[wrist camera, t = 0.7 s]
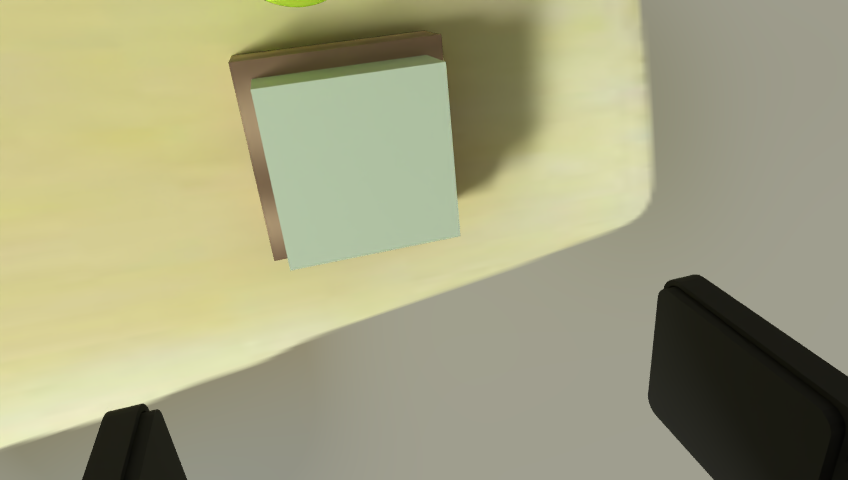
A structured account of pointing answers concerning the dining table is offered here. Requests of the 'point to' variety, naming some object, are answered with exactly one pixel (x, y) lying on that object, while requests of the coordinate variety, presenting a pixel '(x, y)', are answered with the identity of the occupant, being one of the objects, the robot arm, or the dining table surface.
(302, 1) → the soap dispenser
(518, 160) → the dining table surface
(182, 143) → the dining table surface
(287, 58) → the riser base
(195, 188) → the dining table surface
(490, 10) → the dining table surface
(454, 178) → the pale green square tile
